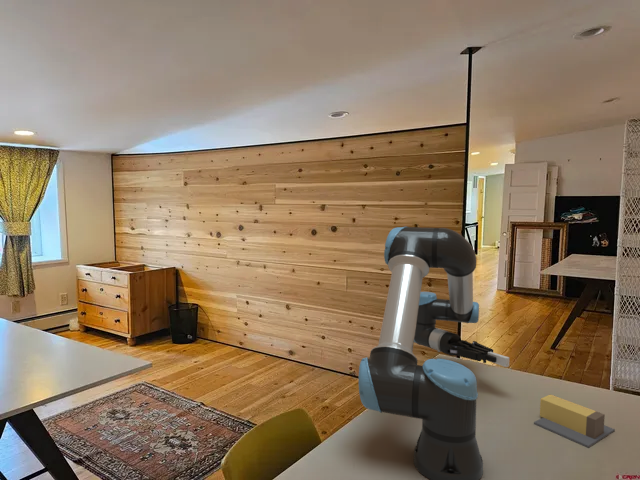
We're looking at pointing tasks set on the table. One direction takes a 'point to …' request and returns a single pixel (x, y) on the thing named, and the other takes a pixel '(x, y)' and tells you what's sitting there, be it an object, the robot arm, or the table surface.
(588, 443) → the charcoal mat
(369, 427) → the table surface
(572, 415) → the ochre post
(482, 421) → the table surface
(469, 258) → the robot arm
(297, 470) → the table surface
